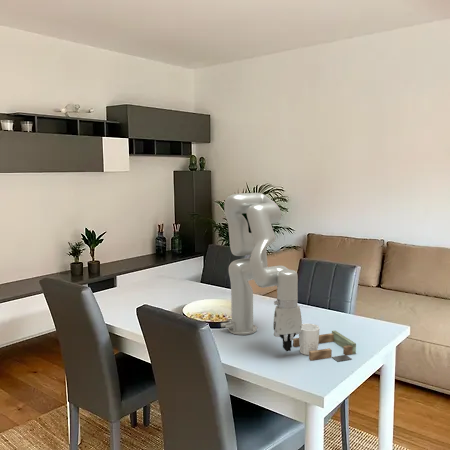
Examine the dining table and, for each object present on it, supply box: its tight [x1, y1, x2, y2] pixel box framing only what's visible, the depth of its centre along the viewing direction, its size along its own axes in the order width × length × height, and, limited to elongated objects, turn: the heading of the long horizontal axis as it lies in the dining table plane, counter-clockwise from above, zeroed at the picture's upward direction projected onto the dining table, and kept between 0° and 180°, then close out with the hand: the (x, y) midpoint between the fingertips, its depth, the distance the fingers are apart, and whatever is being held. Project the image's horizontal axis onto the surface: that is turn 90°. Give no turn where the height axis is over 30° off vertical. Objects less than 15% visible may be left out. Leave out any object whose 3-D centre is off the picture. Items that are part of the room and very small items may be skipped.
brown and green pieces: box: [292, 330, 357, 363], centre depth 180 cm, size 19×24×4 cm
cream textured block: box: [298, 323, 320, 356], centre depth 177 cm, size 8×8×10 cm
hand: (287, 349), depth 175 cm, fingers closed
